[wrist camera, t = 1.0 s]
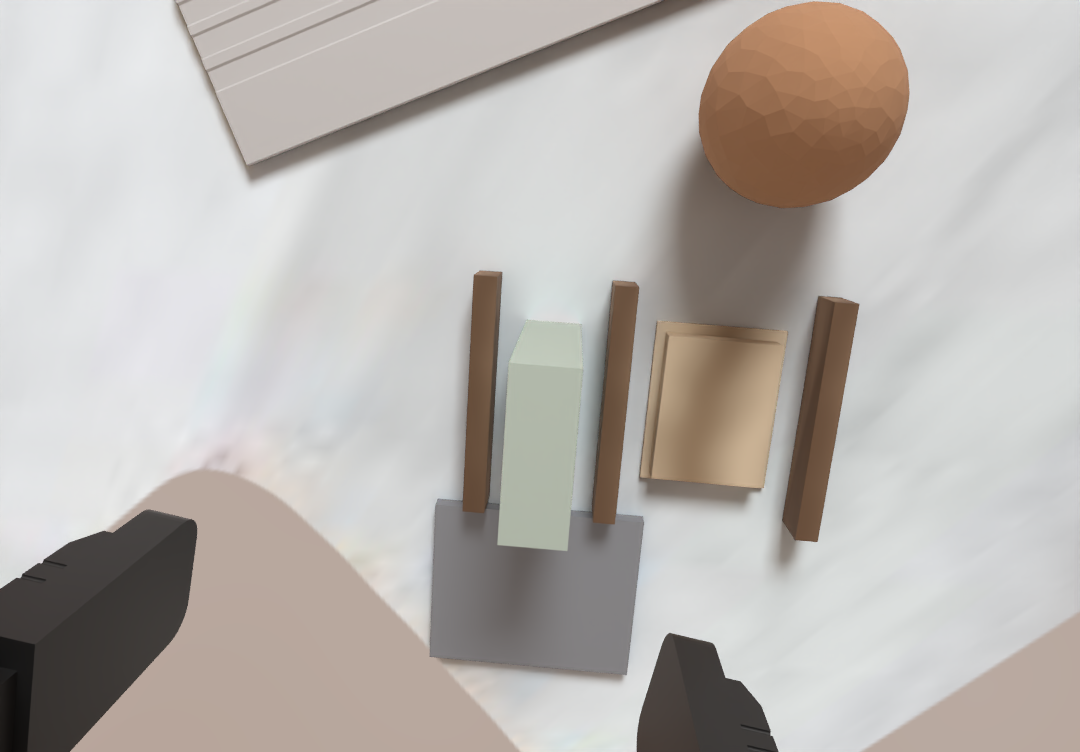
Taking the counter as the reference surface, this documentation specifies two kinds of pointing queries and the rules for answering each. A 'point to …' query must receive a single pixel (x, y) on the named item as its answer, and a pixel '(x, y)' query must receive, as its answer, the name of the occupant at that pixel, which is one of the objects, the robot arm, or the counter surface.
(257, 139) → the baseboard molding
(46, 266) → the counter surface
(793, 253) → the counter surface
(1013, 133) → the counter surface
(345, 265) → the counter surface
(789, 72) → the egg
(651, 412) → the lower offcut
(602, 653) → the rubber mat
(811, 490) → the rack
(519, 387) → the pale green block
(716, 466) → the upper offcut
